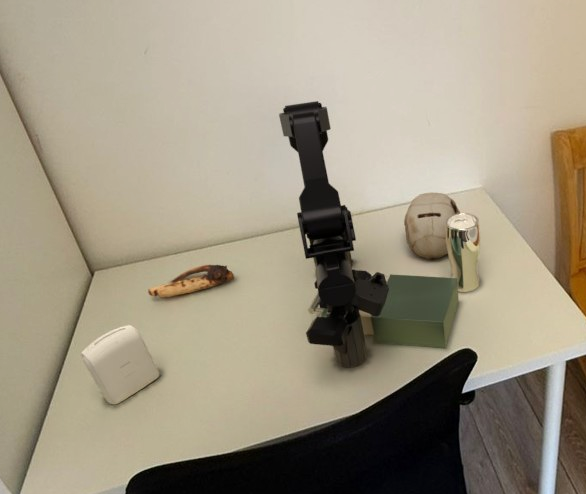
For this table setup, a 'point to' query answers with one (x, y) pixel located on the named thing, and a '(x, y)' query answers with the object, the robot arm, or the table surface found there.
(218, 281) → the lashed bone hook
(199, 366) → the table surface
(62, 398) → the table surface
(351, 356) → the black cup
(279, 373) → the table surface
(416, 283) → the green box
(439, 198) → the coin bank
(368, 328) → the drawer
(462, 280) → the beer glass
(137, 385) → the photo printer
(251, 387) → the table surface
